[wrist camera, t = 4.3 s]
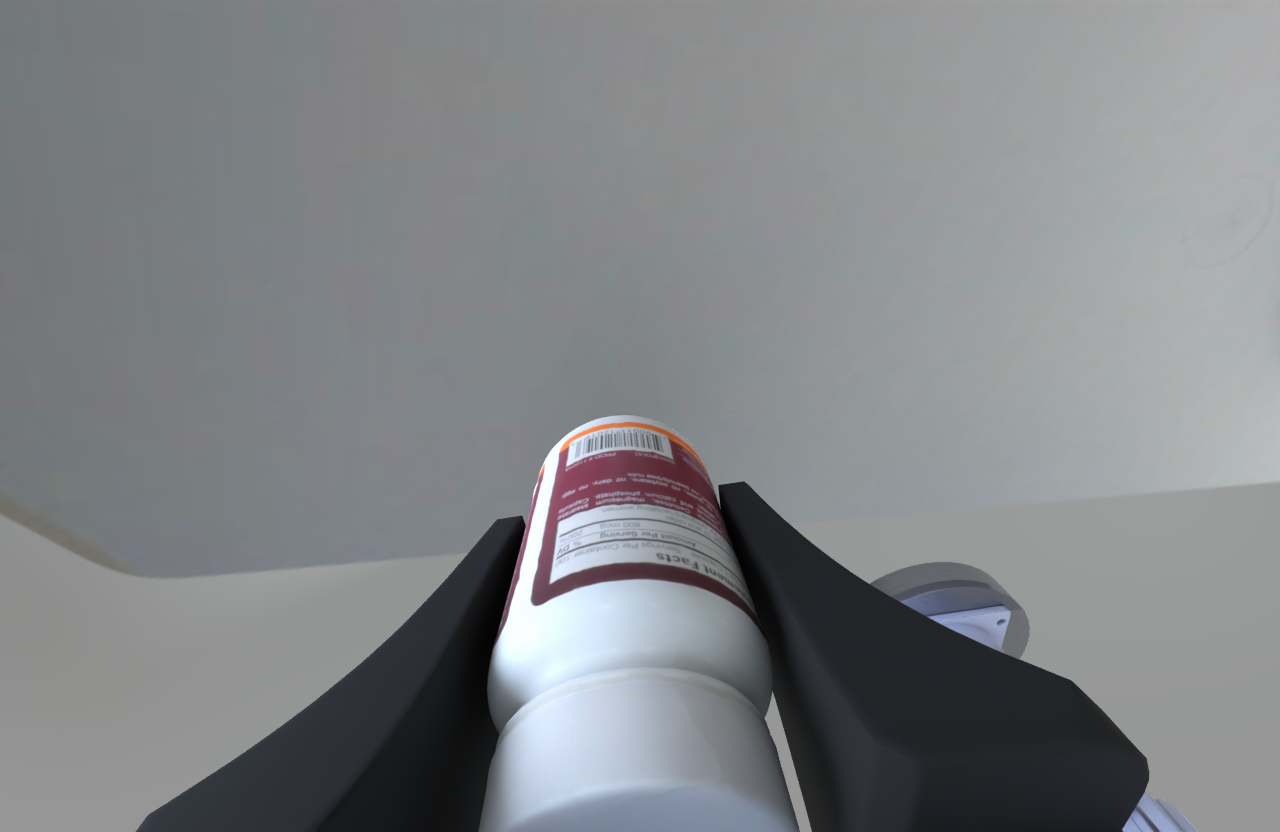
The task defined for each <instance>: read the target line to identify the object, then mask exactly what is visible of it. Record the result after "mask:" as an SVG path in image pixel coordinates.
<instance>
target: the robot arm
mask: <svg viewBox="0 0 1280 832" xmlns="http://www.w3.org/2000/svg"><path fill="white" fill-rule="evenodd" d="M718 486H719V497H720V508H721V512H722V515H723V518H724V520H725V523H726V526H727V529H728V533H729V536H730V539H731V541H732V544H733V547H734V550H735V553H736V556H737V558H738V561H739V564H740V566H741V569H742V572H743V575H744V578H745V581H746V584H747V587H748V590H749V593H750V595H751V597H752V600H753V604H754V606H755V609H756V611H757V615H758V618H759V621H760V623H761V626H762V628H763V631H764V634H765V636H766V639H767V641H768V644H769V649H770V654H771V659H772V670H773V688H772V691H773V694H774V697H775V700H776V703H777V706H778V709H779V713H780V717H781V721H782V724H783V728H784V731H785V735H786V738H787V742H788V745H789V749H790V752H791V756H792V760H793V763H794V767H795V770H796V774H797V778H798V781H799V785H800V789H801V792H802V796H803V799H804V803H805V806H806V810H807V814H808V818H809V822H810V826H811V829H812V832H1199V831H1198V830H1197V829H1196V828H1195V827H1194V826H1193V825H1192V824H1191V823H1190V822H1189V821H1188V819H1186V817H1185V816H1184V815H1183V814H1182V813H1181V812H1180V811H1179V810H1178V809H1177V808H1176V807H1175V806H1174V805H1173V804H1171V803H1169V802H1166V801H1163V800H1161V799H1155V798H1154V797H1153V796H1152V795H1150V794H1148V793H1144V792H1145V789H1146V786H1147V784H1148V781H1149V769H1148V763H1147V758H1146V757H1145V756H1144V755H1143V754H1142V753H1141V752H1140V751H1139V750H1138V749H1137V748H1136V747H1135V746H1134V745H1133V743H1131V741H1130V740H1129V739H1128V738H1127V737H1126V736H1125V735H1124V734H1123V733H1122V731H1121V730H1120V729H1119V728H1118V727H1117V726H1116V725H1115V724H1114V722H1113V721H1112V720H1111V719H1110V718H1109V717H1108V716H1107V715H1106V714H1105V713H1104V712H1103V711H1102V709H1101V708H1099V707H1098V706H1097V705H1096V704H1095V703H1094V702H1093V701H1092V700H1091V699H1090V698H1089V697H1088V696H1087V695H1086V694H1085V693H1084V692H1083V691H1082V690H1081V689H1080V688H1079V687H1078V686H1077V685H1076V684H1074V683H1073V682H1072V681H1071V680H1069V679H1066V678H1064V677H1061V676H1059V675H1056V674H1054V673H1051V672H1049V671H1046V670H1044V669H1042V668H1039V667H1037V666H1034V665H1032V664H1029V663H1027V662H1024V661H1022V660H1019V659H1017V658H1015V657H1012V656H1010V655H1007V654H1006V653H1005V652H1004V651H1003V650H1002V649H1001V647H1002V643H1003V640H1004V636H1005V633H1006V629H1007V626H1008V622H1009V619H1010V615H1011V612H1010V611H1009V610H1008V609H1007V608H1006V607H1005V606H995V607H988V608H981V609H974V610H968V611H961V612H954V613H947V614H941V615H934V616H927V617H926V616H924V615H922V614H921V613H919V612H917V611H915V610H913V609H911V608H910V607H908V606H906V605H904V604H902V603H901V602H899V601H897V600H895V599H893V598H891V597H890V596H888V595H886V594H885V593H883V592H881V591H880V590H878V589H876V588H875V587H873V586H871V585H870V584H868V583H867V582H865V581H863V580H862V579H861V578H859V577H857V576H856V575H854V574H853V573H851V572H850V571H849V570H847V569H846V568H844V567H843V566H841V565H840V564H839V563H837V562H836V561H834V560H833V559H832V558H830V557H829V556H828V555H827V554H825V553H824V552H822V551H821V550H820V549H819V548H817V547H816V546H815V545H814V544H812V543H811V542H810V541H808V540H807V539H806V538H805V537H803V536H802V535H801V534H800V533H799V532H798V531H797V530H796V529H794V528H793V527H792V526H791V525H790V524H789V523H787V522H786V521H785V520H784V519H783V518H782V517H781V516H780V515H779V514H777V513H776V512H775V511H774V510H773V509H772V508H771V507H770V506H769V505H768V504H767V503H766V502H765V501H764V500H763V499H762V498H761V497H760V496H759V495H758V494H757V493H756V492H755V491H754V490H753V489H752V488H751V487H750V486H749V485H748V484H747V483H745V482H744V481H743V482H737V483H730V484H724V485H718ZM525 529H526V526H525V523H524V519H523V516H517V517H510V518H504V519H498V520H497V521H496V522H495V523H494V524H493V525H492V526H491V527H490V528H489V530H488V531H487V532H486V533H485V534H484V536H483V537H482V538H481V539H480V540H479V541H478V543H477V544H476V545H475V546H474V547H473V549H472V550H471V551H470V552H469V553H468V555H467V556H466V557H465V558H464V559H463V560H462V562H461V563H460V564H459V565H458V566H457V567H456V568H455V570H454V571H453V572H452V573H451V574H450V575H449V577H448V578H447V579H446V580H445V581H444V582H443V583H442V585H440V587H439V588H438V589H437V590H436V591H435V592H434V593H433V594H432V595H431V596H430V597H429V598H428V599H427V601H425V602H424V604H423V605H422V606H421V607H420V608H419V609H418V610H417V611H416V612H415V613H414V614H413V615H412V616H411V617H410V618H409V619H408V620H407V621H406V622H405V623H404V624H403V625H402V626H401V627H400V628H399V629H398V630H397V631H396V632H395V633H394V634H393V635H392V636H391V637H390V638H389V639H387V640H386V641H385V642H384V643H383V644H382V645H381V646H380V647H379V648H378V649H376V650H375V651H374V652H373V653H372V654H371V655H370V656H369V657H368V658H367V659H365V660H364V661H363V662H362V663H361V664H360V665H358V666H357V667H356V668H355V669H354V670H352V671H351V672H350V673H349V674H347V675H346V676H345V677H344V678H343V679H342V680H340V681H339V682H338V683H337V684H335V685H334V686H333V687H332V688H330V689H329V690H328V691H327V692H325V693H324V694H323V695H322V696H320V697H319V698H318V699H317V700H316V701H314V702H313V703H312V704H310V705H309V706H308V707H307V708H305V709H304V710H303V711H301V712H300V713H298V714H297V715H296V716H294V717H293V718H292V719H290V720H289V721H288V722H286V723H285V724H284V725H282V726H281V727H280V728H278V729H277V730H276V731H274V732H273V733H271V734H270V735H269V736H267V737H266V738H264V739H263V740H261V741H260V742H259V743H257V744H256V745H254V746H253V747H252V748H250V749H249V750H247V751H246V752H244V753H243V754H241V755H240V756H239V757H237V758H236V759H234V760H233V761H231V762H230V763H228V764H227V765H225V766H224V767H222V768H220V769H219V770H217V771H216V772H214V773H213V774H211V775H210V776H208V777H207V778H205V779H204V780H202V781H200V782H199V783H197V784H196V785H194V786H193V787H191V788H190V789H188V790H187V791H185V792H183V793H182V794H181V795H179V796H177V797H176V798H174V799H173V800H171V801H170V802H168V803H167V804H165V805H163V806H162V807H160V808H158V809H157V810H155V811H154V812H152V813H150V814H149V815H148V816H147V817H146V818H145V820H144V821H143V823H142V824H141V825H140V827H139V828H138V829H137V831H136V832H478V831H479V826H480V821H481V815H482V810H483V805H484V799H485V794H486V788H487V780H488V772H489V768H490V764H491V760H492V758H493V756H494V753H495V750H496V745H497V742H498V738H499V736H500V734H499V733H498V731H497V729H496V727H495V725H494V723H493V720H492V717H491V714H490V709H489V704H488V694H487V684H488V674H489V667H490V661H491V656H492V650H493V646H494V642H495V639H496V637H497V633H498V629H499V626H500V623H501V619H502V615H503V612H504V608H505V604H506V600H507V596H508V593H509V589H510V586H511V582H512V578H513V575H514V571H515V567H516V563H517V559H518V555H519V551H520V548H521V544H522V541H523V536H524V532H525ZM1138 804H1139V805H1140V806H1139V805H1138Z"/></svg>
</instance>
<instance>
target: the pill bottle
mask: <svg viewBox="0 0 1280 832" xmlns="http://www.w3.org/2000/svg"><path fill="white" fill-rule="evenodd" d="M772 688H773V670H772V659H771V654H770V649H769V644H768V641H767V639H766V636H765V634H764V631H763V628H762V626H761V623H760V621H759V618H758V615H757V611H756V609H755V606H754V604H753V600H752V597H751V595H750V593H749V590H748V587H747V584H746V581H745V578H744V575H743V572H742V569H741V566H740V564H739V561H738V558H737V556H736V553H735V550H734V547H733V544H732V541H731V539H730V536H729V533H728V529H727V526H726V523H725V520H724V518H723V515H722V512H721V510H720V506H719V504H718V501H717V498H716V494H715V491H714V489H713V486H712V483H711V481H710V478H709V475H708V473H707V470H706V467H705V464H704V462H703V460H702V458H701V456H700V455H699V453H698V452H697V450H696V449H695V448H694V446H693V445H692V444H691V443H690V442H689V441H688V440H687V439H686V438H685V437H684V436H683V435H682V434H680V433H679V432H677V431H676V430H675V429H673V428H672V427H670V426H668V425H666V424H664V423H662V422H659V421H656V420H653V419H650V418H645V417H640V416H632V415H618V416H609V417H604V418H599V419H596V420H593V421H590V422H588V423H586V424H584V425H582V426H579V427H578V428H576V429H575V430H573V431H572V432H570V433H569V434H567V435H566V436H565V437H564V438H563V439H561V440H560V441H559V442H558V443H557V445H556V446H555V447H554V448H553V449H552V450H551V451H550V453H549V455H548V456H547V458H546V460H545V462H544V464H543V466H542V469H541V471H540V475H539V479H538V482H537V485H536V487H535V490H534V495H533V501H532V505H531V508H530V512H529V516H528V520H527V525H526V529H525V532H524V536H523V541H522V544H521V548H520V551H519V555H518V559H517V563H516V567H515V571H514V575H513V578H512V582H511V586H510V589H509V593H508V596H507V600H506V604H505V608H504V612H503V615H502V619H501V623H500V626H499V629H498V633H497V637H496V639H495V642H494V646H493V650H492V656H491V661H490V667H489V674H488V684H487V694H488V704H489V709H490V714H491V717H492V720H493V723H494V725H495V727H496V729H497V731H498V733H499V734H500V736H499V738H498V742H497V745H496V750H495V753H494V756H493V758H492V760H491V764H490V768H489V772H488V780H487V788H486V794H485V799H484V805H483V810H482V815H481V821H480V826H479V831H478V832H800V831H799V826H798V823H797V819H796V816H795V812H794V809H793V806H792V802H791V799H790V795H789V792H788V788H787V785H786V782H785V778H784V775H783V771H782V768H781V764H780V760H779V757H778V752H777V748H776V746H775V744H774V741H773V739H772V737H771V735H770V731H769V729H768V726H767V723H766V721H765V719H764V718H765V716H766V714H767V711H768V708H769V704H770V701H771V696H772Z"/></svg>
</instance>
